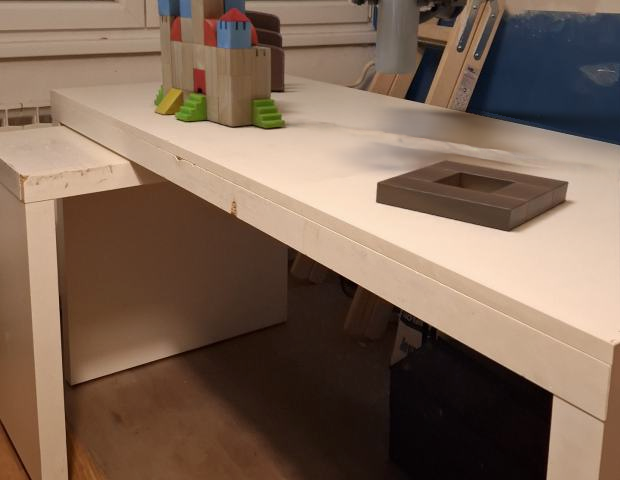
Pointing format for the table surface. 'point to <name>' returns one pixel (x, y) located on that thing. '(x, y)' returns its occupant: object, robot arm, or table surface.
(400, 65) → the grey cylinder peg
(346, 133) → the table surface
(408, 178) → the socket pad
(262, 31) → the letter holder
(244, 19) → the block set
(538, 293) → the table surface
